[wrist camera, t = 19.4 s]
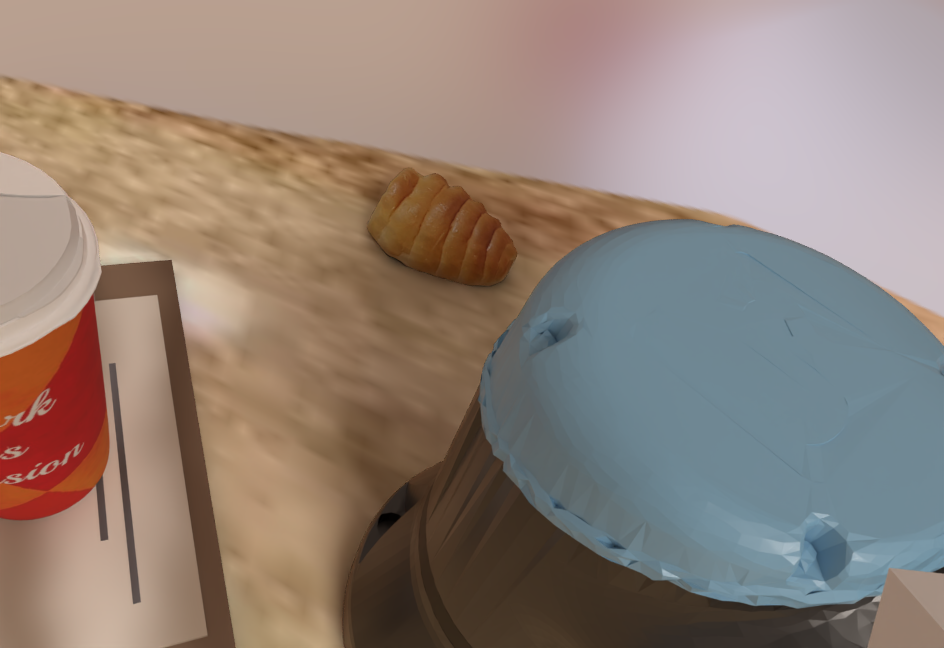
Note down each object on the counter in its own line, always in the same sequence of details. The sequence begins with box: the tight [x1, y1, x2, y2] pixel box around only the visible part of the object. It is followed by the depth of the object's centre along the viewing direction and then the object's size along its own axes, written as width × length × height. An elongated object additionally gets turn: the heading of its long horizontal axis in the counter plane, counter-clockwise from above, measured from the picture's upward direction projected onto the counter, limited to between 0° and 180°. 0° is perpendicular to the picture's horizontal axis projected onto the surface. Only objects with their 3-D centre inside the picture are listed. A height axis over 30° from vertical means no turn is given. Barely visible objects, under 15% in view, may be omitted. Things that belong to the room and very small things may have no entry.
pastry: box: [367, 168, 517, 286], centre depth 49 cm, size 9×7×4 cm
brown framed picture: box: [0, 260, 235, 648], centre depth 34 cm, size 14×22×2 cm, turn 20°
